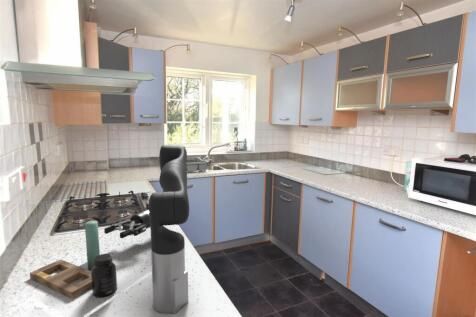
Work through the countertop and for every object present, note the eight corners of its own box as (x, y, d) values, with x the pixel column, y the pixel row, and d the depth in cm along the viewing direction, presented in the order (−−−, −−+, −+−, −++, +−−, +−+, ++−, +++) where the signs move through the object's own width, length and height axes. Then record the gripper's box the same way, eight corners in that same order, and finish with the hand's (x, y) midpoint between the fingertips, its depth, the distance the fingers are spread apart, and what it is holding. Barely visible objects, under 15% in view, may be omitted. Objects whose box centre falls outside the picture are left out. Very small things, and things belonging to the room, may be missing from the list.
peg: (102, 264, 102) (100, 222, 99) (92, 269, 98) (89, 225, 96) (95, 261, 103) (92, 219, 101) (85, 266, 100) (82, 223, 97)
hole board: (102, 284, 92) (102, 275, 91) (72, 301, 83) (72, 291, 82) (61, 267, 101) (60, 258, 101) (30, 281, 93) (29, 272, 92)
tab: (113, 265, 103) (113, 263, 103) (91, 278, 95) (90, 275, 95) (97, 259, 107) (96, 257, 107) (74, 271, 99) (73, 268, 99)
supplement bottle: (89, 293, 87) (86, 256, 85) (112, 284, 91) (110, 249, 90) (97, 304, 82) (94, 265, 80) (121, 294, 87) (119, 257, 85)
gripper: (132, 209, 124) (99, 220, 109) (157, 214, 117) (125, 227, 103) (133, 225, 125) (100, 239, 110) (157, 231, 118) (126, 247, 104)
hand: (112, 233), depth 107 cm, fingers open, 8 cm apart
